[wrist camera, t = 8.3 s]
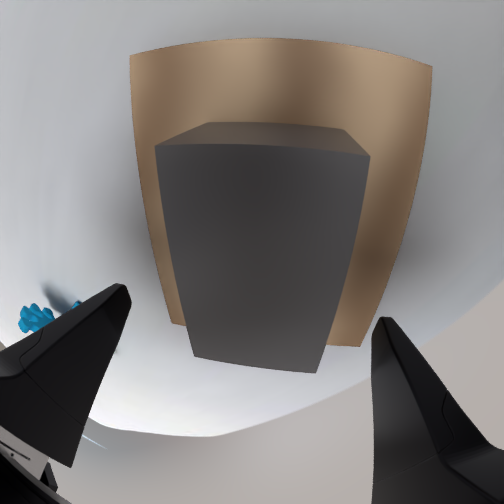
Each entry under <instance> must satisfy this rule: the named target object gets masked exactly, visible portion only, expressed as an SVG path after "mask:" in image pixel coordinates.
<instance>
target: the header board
mask: <svg viewBox="0 0 504 504" xmlns="http://www.w3.org/2000/svg"><path fill="white" fill-rule="evenodd" d="M431 83H432V66H430V65H427V64H424V63H421V62H418V61H415V60H411V59H408V58H405V57H401V56H397V55H394V54H390V53H386V52H381V51H377V50H372V49H368V48H363V47H357V46H352V45H346V44H339V43H332V42H323V41H314V40H302V39H284V38H245V39H226V40H214V41H205V42H196V43H189V44H182V45H176V46H170V47H165V48H160V49H155V50H151V51H146V52H142V53H138V54H134V55H130V84H131V102H132V116H133V127H134V137H135V146H136V154H137V162H138V170H139V177H140V183H141V190H142V196H143V202H144V207H145V213H146V218H147V224H148V229H149V234H150V238H151V243H152V248H153V252H154V257H155V261H156V265H157V270H158V274H159V278H160V282H161V286H162V290H163V293H164V297H165V301H166V305H167V308H168V312H169V315H170V319H171V322H172V323H173V324H178V325H183V326H186V323H185V319H184V315H183V311H182V307H181V303H180V298H179V294H178V289H177V285H176V280H175V275H174V270H173V266H172V261H171V255H170V250H169V245H168V239H167V234H166V228H165V222H164V216H163V209H162V203H161V196H160V189H159V181H158V173H157V165H156V156H155V147H154V146H155V145H157V144H159V143H161V142H163V141H166V140H168V139H170V138H172V137H174V136H176V135H179V134H181V133H183V132H186V131H188V130H190V129H193V128H195V127H197V126H200V125H202V124H205V123H207V122H266V123H285V124H299V125H310V126H320V127H329V128H337V129H344V130H345V131H346V132H347V133H348V134H349V135H350V136H351V137H352V138H353V139H354V140H355V141H356V142H357V143H358V144H359V145H360V146H361V147H362V148H363V149H364V150H365V151H366V152H367V153H368V154H369V155H370V156H371V157H370V164H369V171H368V177H367V183H366V189H365V195H364V200H363V205H362V211H361V216H360V220H359V225H358V230H357V235H356V239H355V243H354V248H353V252H352V256H351V260H350V264H349V268H348V272H347V276H346V280H345V283H344V287H343V291H342V294H341V298H340V301H339V305H338V308H337V311H336V315H335V318H334V321H333V324H332V328H331V331H330V334H329V337H328V340H327V343H326V345H337V346H355V347H360V346H361V343H362V341H363V339H364V337H365V335H366V333H367V331H368V328H369V326H370V324H371V322H372V319H373V317H374V315H375V312H376V310H377V308H378V305H379V303H380V300H381V298H382V295H383V293H384V290H385V288H386V285H387V282H388V280H389V277H390V274H391V271H392V269H393V266H394V263H395V260H396V257H397V254H398V251H399V248H400V245H401V242H402V238H403V235H404V232H405V228H406V225H407V221H408V218H409V214H410V210H411V206H412V203H413V199H414V194H415V190H416V186H417V181H418V177H419V172H420V167H421V162H422V157H423V151H424V145H425V139H426V132H427V125H428V117H429V108H430V97H431Z"/></svg>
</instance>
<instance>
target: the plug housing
mask: <svg viewBox="0 0 504 504" xmlns="http://www.w3.org/2000/svg"><path fill="white" fill-rule="evenodd" d="M154 147H155V156H156V165H157V173H158V181H159V189H160V196H161V203H162V209H163V216H164V222H165V228H166V234H167V239H168V245H169V250H170V255H171V261H172V266H173V270H174V275H175V280H176V285H177V289H178V294H179V298H180V303H181V307H182V311H183V315H184V319H185V323H186V327H187V331H188V335H189V339H190V343H191V346H192V350H193V354H194V357H199V358H204V359H209V360H214V361H220V362H226V363H231V364H238V365H244V366H251V367H258V368H266V369H274V370H283V371H293V372H304V373H316V371H317V369H318V366H319V363H320V360H321V357H322V355H323V352H324V349H325V346H326V343H327V340H328V337H329V334H330V331H331V328H332V324H333V321H334V318H335V315H336V311H337V308H338V305H339V301H340V298H341V294H342V291H343V287H344V283H345V280H346V276H347V272H348V268H349V264H350V260H351V256H352V252H353V248H354V243H355V239H356V235H357V230H358V225H359V220H360V216H361V211H362V205H363V200H364V195H365V189H366V183H367V177H368V171H369V164H370V157H371V156H370V155H369V154H368V153H367V152H366V151H365V150H364V149H363V148H362V147H361V146H360V145H359V144H358V143H357V142H356V141H355V140H354V139H353V138H352V137H351V136H350V135H349V134H348V133H347V132H346V131H345V130H344V129H337V128H329V127H320V126H310V125H299V124H285V123H266V122H207V123H205V124H202V125H200V126H197V127H195V128H193V129H190V130H188V131H186V132H183V133H181V134H179V135H176V136H174V137H172V138H170V139H168V140H166V141H163V142H161V143H159V144H157V145H155V146H154Z"/></svg>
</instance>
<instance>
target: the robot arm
mask: <svg viewBox="0 0 504 504" xmlns="http://www.w3.org/2000/svg"><path fill="white" fill-rule="evenodd" d="M131 305H132V302H131V298H130V295H129V293H128V290H127V287H126V286H125V285H123V284H118V283H115V284H113V285H112V286H110V287H108V288H106V289H105V290H103V291H101V292H100V293H98V294H96V295H94V296H93V297H91V298H89V299H88V300H86V301H84V302H83V303H81V304H79V305H78V306H76V307H74V308H73V309H71V310H69V311H68V312H66V313H64V314H63V315H61V316H60V317H58V318H56V319H55V320H53V321H52V322H50V323H48V324H47V325H45V326H44V327H42V328H40V329H39V330H37V331H36V332H34V333H32V334H31V335H29V336H27V337H26V338H24V339H22V340H20V341H18V342H17V343H15V344H13V345H11V346H9V347H7V348H6V349H4V350H2V351H0V504H71V503H70V502H68V501H67V500H65V499H64V498H62V497H61V496H60V495H58V494H57V493H56V491H57V488H58V486H57V483H56V481H55V478H54V475H53V472H52V469H51V465H50V463H49V462H47V461H48V459H49V457H50V458H52V459H54V460H56V461H57V462H60V463H61V464H63V465H65V466H67V467H69V468H71V467H72V464H73V461H74V458H75V454H76V451H77V448H78V445H79V442H80V439H81V436H82V433H83V430H84V426H85V423H86V421H87V418H88V416H89V413H90V410H91V407H92V405H93V402H94V400H95V397H96V394H97V392H98V389H99V387H100V384H101V382H102V379H103V377H104V375H105V372H106V370H107V367H108V365H109V363H110V360H111V358H112V356H113V353H114V351H115V349H116V347H117V345H118V342H119V340H120V337H121V334H122V331H123V328H124V325H125V323H126V320H127V317H128V314H129V311H130V309H131ZM371 385H372V401H373V422H374V471H373V489H372V503H371V504H504V450H501V449H498V448H496V447H494V446H493V445H491V444H490V443H489V442H488V441H487V440H486V438H485V437H484V436H483V435H482V434H481V432H480V431H479V430H478V429H477V427H476V426H475V425H474V424H473V423H472V421H471V420H470V419H469V418H468V416H467V415H466V414H465V413H464V411H463V410H462V409H461V408H460V406H459V405H458V404H457V402H456V401H455V399H454V398H453V397H452V395H451V394H450V392H449V391H448V390H447V388H446V387H445V385H444V384H443V383H442V381H441V380H440V378H439V377H438V376H437V374H436V373H435V372H434V370H433V369H432V368H431V366H430V365H429V364H428V362H427V361H426V360H425V358H424V357H423V356H422V354H421V353H420V352H419V351H418V349H417V348H416V347H415V345H414V344H413V343H412V342H411V340H410V339H409V338H408V337H407V335H406V334H405V333H404V332H403V330H402V329H401V328H400V327H399V325H398V324H397V323H396V322H395V321H394V319H393V318H391V317H380V318H379V320H378V322H377V324H376V326H375V328H374V330H373V333H372V338H371Z"/></svg>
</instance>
